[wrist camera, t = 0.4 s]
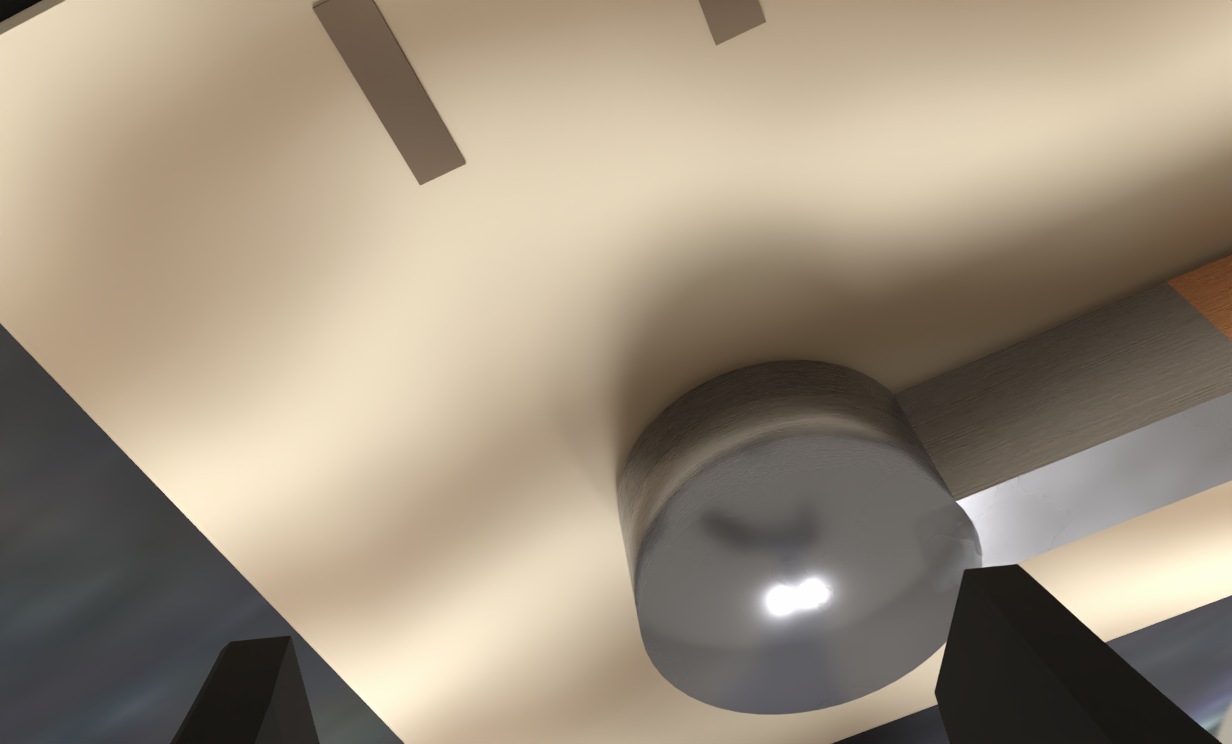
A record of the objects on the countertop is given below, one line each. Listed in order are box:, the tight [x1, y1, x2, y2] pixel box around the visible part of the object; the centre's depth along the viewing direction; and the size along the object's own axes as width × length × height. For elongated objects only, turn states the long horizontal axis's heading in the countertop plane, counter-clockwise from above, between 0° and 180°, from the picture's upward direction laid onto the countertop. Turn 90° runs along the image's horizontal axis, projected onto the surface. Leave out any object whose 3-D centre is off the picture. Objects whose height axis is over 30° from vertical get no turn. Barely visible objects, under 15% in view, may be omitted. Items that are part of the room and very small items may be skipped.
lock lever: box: [617, 254, 1232, 715], centre depth 19 cm, size 15×6×3 cm, turn 113°
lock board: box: [0, 0, 1232, 744], centre depth 20 cm, size 22×22×2 cm
